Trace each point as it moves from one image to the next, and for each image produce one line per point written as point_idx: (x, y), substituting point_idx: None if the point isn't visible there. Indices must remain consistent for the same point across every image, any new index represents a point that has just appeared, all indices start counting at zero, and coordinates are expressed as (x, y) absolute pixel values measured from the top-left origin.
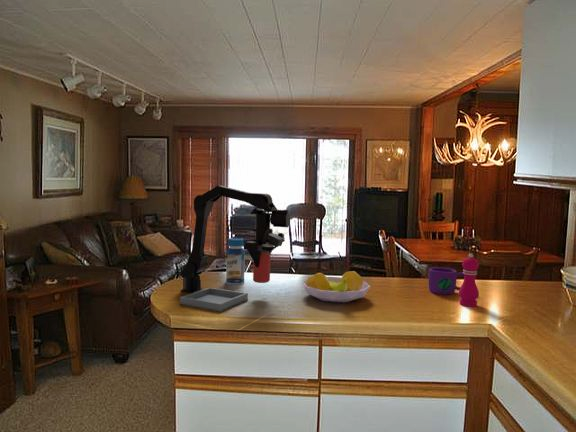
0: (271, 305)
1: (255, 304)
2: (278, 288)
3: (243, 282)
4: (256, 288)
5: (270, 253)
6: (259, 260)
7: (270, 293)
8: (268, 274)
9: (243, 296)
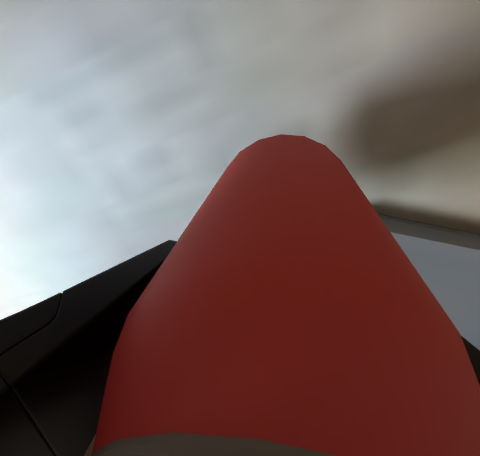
0: (448, 36)
1: (427, 146)
2: (70, 138)
3: None
4: (135, 231)
5: (9, 335)
6: (475, 367)
7: (179, 145)
8: (312, 151)
9: (395, 229)
